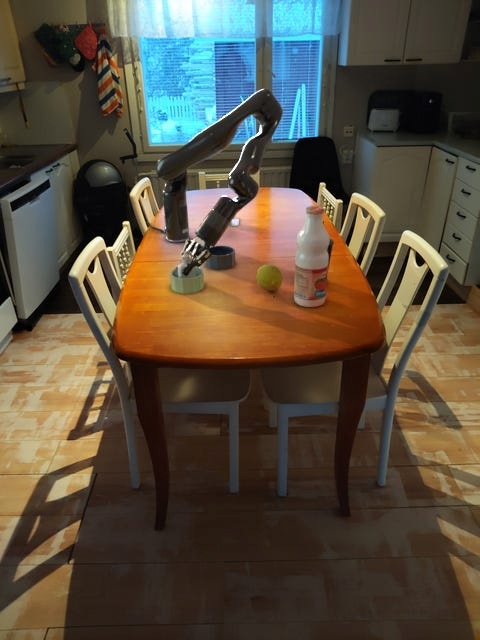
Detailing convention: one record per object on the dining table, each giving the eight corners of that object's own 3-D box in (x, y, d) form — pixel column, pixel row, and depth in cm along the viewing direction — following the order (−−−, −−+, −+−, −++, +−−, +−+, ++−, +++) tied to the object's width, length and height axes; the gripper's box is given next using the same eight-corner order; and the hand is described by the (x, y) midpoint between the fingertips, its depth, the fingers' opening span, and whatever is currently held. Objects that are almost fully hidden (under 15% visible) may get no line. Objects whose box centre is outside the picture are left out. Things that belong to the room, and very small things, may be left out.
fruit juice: (297, 292, 143) (301, 202, 129) (327, 295, 140) (334, 204, 127) (290, 305, 135) (294, 211, 122) (322, 309, 133) (330, 214, 119)
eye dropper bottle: (179, 284, 150) (176, 249, 144) (196, 283, 151) (193, 248, 145) (179, 290, 146) (176, 254, 140) (197, 288, 147) (194, 253, 141)
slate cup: (200, 263, 166) (199, 250, 163) (223, 256, 171) (223, 243, 168) (216, 272, 158) (216, 258, 156) (240, 264, 164) (240, 251, 161)
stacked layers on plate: (238, 225, 203) (237, 213, 200) (217, 225, 203) (217, 213, 200) (238, 218, 212) (238, 207, 209) (219, 219, 212) (218, 207, 209)
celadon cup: (166, 285, 149) (164, 271, 147) (193, 277, 155) (192, 263, 152) (182, 296, 142) (181, 281, 140) (210, 287, 147) (209, 273, 145)
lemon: (285, 295, 141) (286, 271, 138) (260, 297, 140) (260, 273, 136) (277, 280, 151) (277, 258, 147) (253, 283, 150) (253, 260, 146)
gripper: (231, 240, 142) (199, 285, 142) (209, 228, 152) (179, 271, 153) (216, 226, 137) (182, 274, 137) (194, 215, 147) (163, 259, 148)
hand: (181, 272), depth 145 cm, fingers closed on eye dropper bottle, 3 cm apart
